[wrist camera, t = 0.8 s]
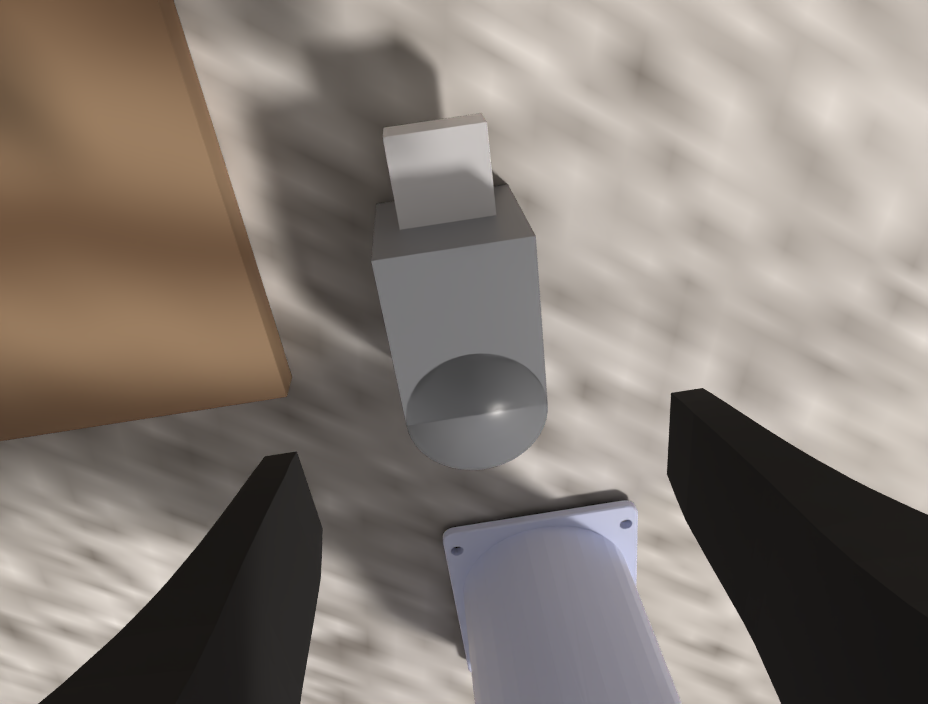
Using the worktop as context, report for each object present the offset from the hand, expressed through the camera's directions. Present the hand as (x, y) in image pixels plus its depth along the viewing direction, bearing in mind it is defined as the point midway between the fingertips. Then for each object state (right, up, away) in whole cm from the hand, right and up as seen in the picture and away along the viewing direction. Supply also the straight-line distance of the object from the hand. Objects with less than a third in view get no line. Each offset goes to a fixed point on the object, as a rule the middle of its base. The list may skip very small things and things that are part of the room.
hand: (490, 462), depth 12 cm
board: (-13, +5, +6) cm, 16 cm away
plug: (-1, +5, +8) cm, 10 cm away
